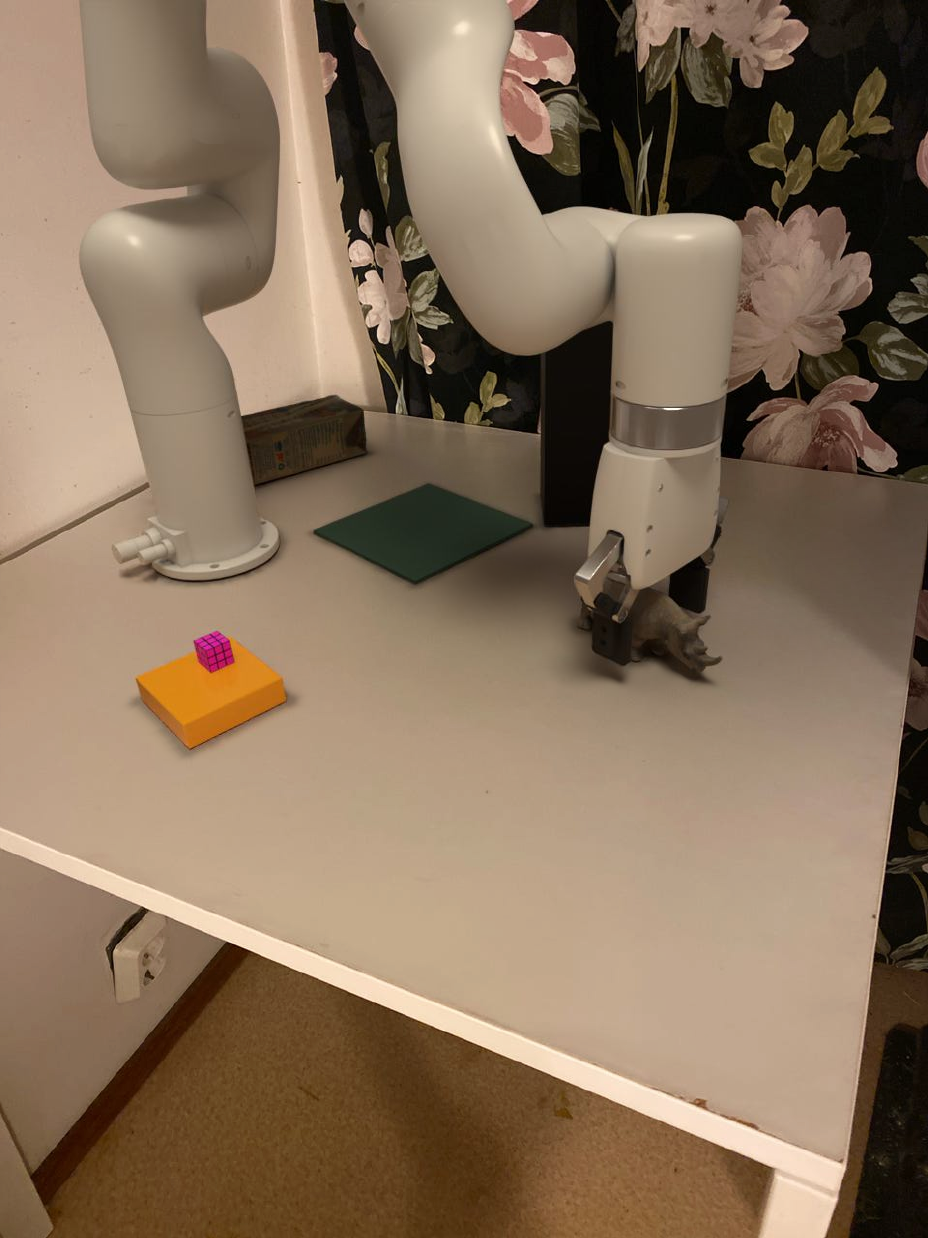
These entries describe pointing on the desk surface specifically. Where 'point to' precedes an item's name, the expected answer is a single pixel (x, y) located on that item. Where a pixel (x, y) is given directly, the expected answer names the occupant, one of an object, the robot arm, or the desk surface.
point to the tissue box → (574, 423)
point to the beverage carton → (303, 436)
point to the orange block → (210, 689)
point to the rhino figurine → (660, 627)
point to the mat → (422, 531)
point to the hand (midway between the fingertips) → (649, 631)
